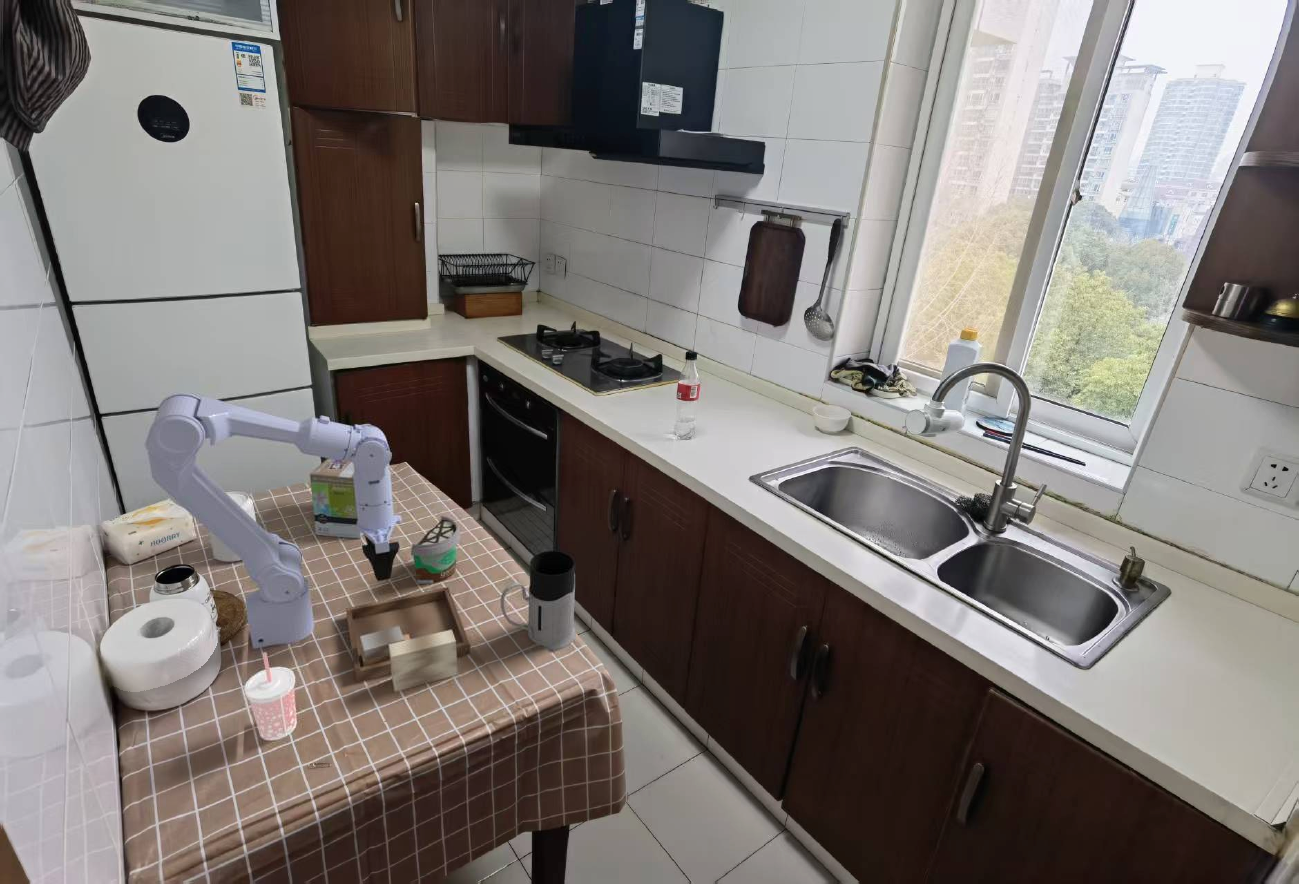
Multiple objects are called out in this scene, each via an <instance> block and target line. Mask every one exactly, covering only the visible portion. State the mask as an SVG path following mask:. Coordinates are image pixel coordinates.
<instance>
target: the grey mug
mask: <svg viewBox="0 0 1299 884" xmlns="http://www.w3.org/2000/svg"><path fill="white" fill-rule="evenodd" d="M575 562H576V561H575V560H574V558H573V556H571V555H570V554H568V553H566V552H563V551H559V550H548V551H542V552H539V553H537V554H535V555H534V556H533V557H532V558H531V560H530V562H529V587H528V597H527V592H526V588H525V586H524V585H523V584H522V583H520V582H513V583H511V584H509V585H508V586H506V587H505V588H504V590H503V591H502V593H501V595H500V609H501V612H502V615H503V616H504V618H505V620H506V621H507V622H508V623H509V624H510V625H512V626H515V627H517V628H519V629H523V630H526V631H527V635H528V637H529V639H530V640H531V641H532V642H534V643H536V644H537V645H540V646H545V647H546V649H547V651H548V652H554V651H560V650H563V649H565V648H567V647H569V646H570V645H571V644H572V643H573V642H574V641H575V639H576V636H577V635H576V629H575V627H574V620H575V617H574V614H575V592H576V591H575V590H576V589H575V588H576V574H575V568H576V566H575V565H576V564H575ZM514 587H520V588H521V591H522V598H523V600H524V601H526V602H528V626H526V625H522V624H519V623H517V622H514V621H513V620H511V618H509V616H508V615H507V612H506V608H505V597H506V596H507V593H509V591H510V590H512V589H513V588H514Z"/></svg>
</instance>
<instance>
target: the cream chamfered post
mask: <svg viewBox="0 0 1299 884" xmlns="http://www.w3.org/2000/svg"><path fill="white" fill-rule="evenodd" d="M389 653H390V663H391V674H390V675H391V681H392V685H393V690H394V692H399V691H402V690H407V689H409V688H413V687H417V686H422V685H426V684H429V683H432V682H437V681H439V680H444V679H448V678H452V677H456V676H458V657H457V653H456V640H455V637H454V634H453V631H452V630H448V631H444V632H439V633H435V634H431V635H427V636H422V637H418V638H414V639H410V640H405V641H401V642H397V643H393V644H389Z"/></svg>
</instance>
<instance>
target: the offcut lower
mask: <svg viewBox="0 0 1299 884" xmlns="http://www.w3.org/2000/svg"><path fill="white" fill-rule="evenodd" d="M403 638H404V641H405V640H410V637H409V634H406V635H403ZM360 647H361V645H360ZM361 655H362V661H363V667H365V666H370V665H374V664H378V663H382V662H386V661H390V654H388V655H384V656H381V657H377V658H374V659H370V660H367V661H366V660H365V657H364V654H363V650H362V647H361Z"/></svg>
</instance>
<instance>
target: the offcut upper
mask: <svg viewBox="0 0 1299 884" xmlns="http://www.w3.org/2000/svg"><path fill="white" fill-rule="evenodd" d="M360 639H361V647H362V650H363V654H364V657H365V660H366V661H367V660H370V659H374V658H377V657H381V656H384V655H388V654H390V653H389V644H393V643H397V642H401V641H404V638H403V635H402V632H401V630H400V627H399V626H397V627H393V628H389V629H386V630H382V631H378V632H374V633H371V634H367V635H363V636H360Z"/></svg>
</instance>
